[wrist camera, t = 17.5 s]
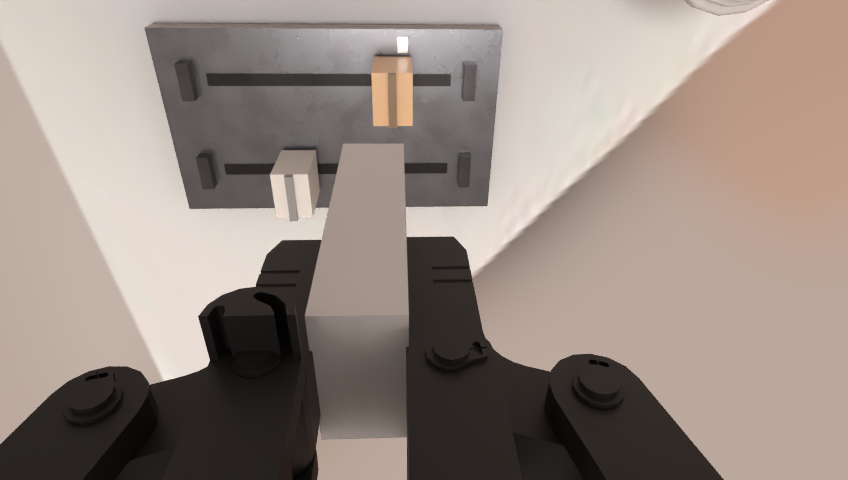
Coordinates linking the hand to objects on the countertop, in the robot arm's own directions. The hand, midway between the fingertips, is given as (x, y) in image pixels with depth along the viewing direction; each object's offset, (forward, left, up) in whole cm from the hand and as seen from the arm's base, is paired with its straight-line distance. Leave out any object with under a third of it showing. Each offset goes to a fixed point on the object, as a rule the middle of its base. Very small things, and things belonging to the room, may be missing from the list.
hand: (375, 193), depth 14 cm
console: (+10, -5, -34) cm, 36 cm away
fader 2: (+6, 0, -32) cm, 32 cm away
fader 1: (+14, -8, -32) cm, 36 cm away
